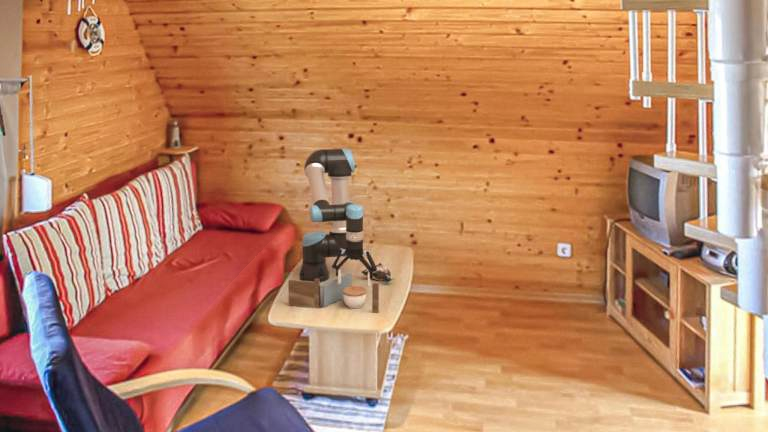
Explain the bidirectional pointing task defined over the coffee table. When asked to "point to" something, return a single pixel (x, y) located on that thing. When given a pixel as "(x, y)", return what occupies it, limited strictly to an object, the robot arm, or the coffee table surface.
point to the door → (333, 290)
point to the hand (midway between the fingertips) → (354, 284)
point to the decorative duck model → (380, 273)
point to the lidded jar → (354, 296)
